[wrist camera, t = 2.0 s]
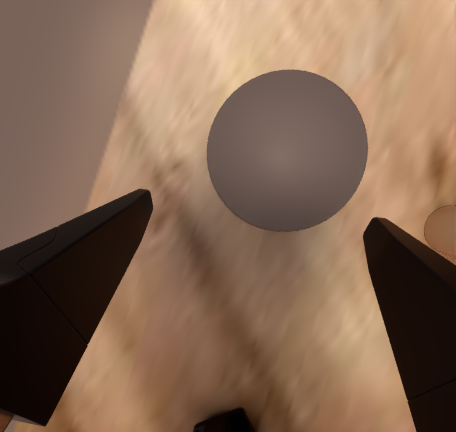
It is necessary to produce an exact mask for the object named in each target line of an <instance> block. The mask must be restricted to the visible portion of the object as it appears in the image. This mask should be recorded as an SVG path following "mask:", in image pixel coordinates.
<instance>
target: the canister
mask: <svg viewBox="0 0 456 432" xmlns="http://www.w3.org/2000/svg"><path fill="white" fill-rule="evenodd" d="M424 234H425V238H426V240H427V242H428V244H429V245H430V246H431V247H432V248H434V249H435V250H437V251H440V252H444V253H447V254H451V255H454V256H456V206H445V207H442V208H439V209H437V210H436V211H434V212H433V213H432V214H431V215H430V216H429V218H428V219H427V221H426V223H425V227H424Z"/></svg>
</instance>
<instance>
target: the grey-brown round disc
mask: <svg viewBox="0 0 456 432" xmlns="http://www.w3.org/2000/svg"><path fill="white" fill-rule="evenodd" d="M367 153H368V142H367V134H366V129H365V125H364V122H363V119H362V117H361V114H360V113H359V111H358V109H357V107H356V105H355V104H354V102H353V101H352V100H351V98H350V97H349V96H348V95H347V94H346V93H345V92H344V91H343V90H342V89H341V88H340V87H338V86H337V85H336V84H335V83H333V82H331V81H330V80H328V79H326V78H325V77H322V76H320V75H317V74H315V73H311V72H307V71H301V70H279V71H273V72H269V73H266V74H263V75H260V76H258V77H256V78H253V79H251V80H250V81H248V82H246V83H245V84H243V85H242V86H241V87H239V88H238V89H237V90H236V91H234V92H233V93H232V94H231V96H230V97H229V98H228V99H227V100H226V101H225V102H224V104H223V105H222V107H221V108H220V110H219V111H218V113H217V115H216V117H215V119H214V121H213V124H212V126H211V129H210V133H209V137H208V144H207V163H208V170H209V173H210V177H211V180H212V183H213V185H214V188H215V190H216V191H217V193H218V195H219V197H220V198H221V199H222V201H223V202H224V203H225V205H226V206H227V207H228V208H229V209H230V210H231V211H232V212H233V213H235V214H236V215H237V216H238V217H240V218H241V219H243V220H245V221H246V222H248V223H250V224H252V225H254V226H257V227H260V228H263V229H267V230H272V231H287V232H288V231H298V230H302V229H306V228H310V227H312V226H315V225H318V224H320V223H322V222H323V221H325V220H327V219H329V218H330V217H332V216H333V215H334V214H336V213H337V212H338V211H339V210H340V209H341V208H342V207H344V205H345V204H346V203H347V202H348V201H349V200H350V198H351V197H352V196H353V194H354V193H355V191H356V190H357V188H358V186H359V184H360V181H361V179H362V177H363V174H364V171H365V167H366V162H367Z"/></svg>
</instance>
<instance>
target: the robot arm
mask: <svg viewBox="0 0 456 432" xmlns="http://www.w3.org/2000/svg"><path fill="white" fill-rule="evenodd" d="M152 211H153V203H152V198H151V193H150V191H149V190H146V189H138V190H135V191H133V192H131V193H129V194H127V195H124V196H122V197H120V198H118V199H116V200H114V201H111V202H109V203H107V204H105V205H103V206H100V207H98V208H96V209H94V210H92V211H90V212H87V213H85V214H83V215H81V216H79V217H76V218H74V219H72V220H70V221H68V222H66V223H63V224H61V225H59V226H58V227H54V228H52V229H50V230H48V231H46V232H44V233H41V234H39V235H37V236H34V237H32V238H30V239H27V240H25V241H23V242H20V243H18V244H15V245H13V246H10V247H8V248H5V249H3V250H0V432H4V430H5V429H6V428H7V426H8V424H9V423H10V421H11V420H15V421H20V422H25V423H30V424H35V425H39V426H46V425H47V423H48V421H49V420H50V418H51V416H52V414H53V412H54V410H55V408H56V406H57V404H58V402H59V400H60V398H61V396H62V395H63V393H64V391H65V389H66V387H67V385H68V383H69V381H70V379H71V377H72V375H73V373H74V371H75V369H76V367H77V365H78V363H79V362H80V360H81V358H82V356H83V354H84V352H85V350H86V348H87V346H88V345H87V344H89V342H90V340H91V338H92V336H93V334H94V332H95V330H96V328H97V326H98V324H99V322H100V320H101V318H102V317H103V315H104V313H105V311H106V309H107V307H108V305H109V303H110V301H111V299H112V297H113V295H114V293H115V291H116V289H117V287H118V285H119V284H120V282H121V280H122V278H123V276H124V274H125V272H126V270H127V268H128V266H129V264H130V262H131V260H132V258H133V256H134V254H135V252H136V251H137V249H138V247H139V245H140V243H141V240H142V238H143V236H144V233H145V230H146V227H147V225H148V222H149V219H150V217H151V214H152ZM363 240H364V246H365V252H366V258H367V264H368V269H369V273H370V277H371V281H372V284H373V287H374V291H375V294H376V297H377V301H378V304H379V307H380V311H381V314H382V317H383V321H384V324H385V327H386V331H387V334H388V337H389V341H390V344H391V347H392V351H393V354H394V357H395V361H396V364H397V367H398V371H399V374H400V377H401V381H402V384H403V387H404V391H405V394H406V397H407V400H408V405H409V408H410V411H411V415H412V418H413V421H414V425H415V428H416V431H417V432H456V265H454V264H453V263H452V262H450V261H449V260H447V259H446V258H444V257H443V256H441V255H440V254H438V253H437V252H435V251H434V250H432V249H431V248H429V247H428V246H426V245H425V244H423V243H422V242H420V241H419V240H417V239H416V238H414V237H413V236H411V235H410V234H408V233H407V232H405V231H404V230H402V229H401V228H399V227H398V226H396V225H395V224H393V223H392V222H391V221H389V220H388V219H386V218H379V217H374V218H373V219H372V220H371V221H370V223H369V225H368V226H367V228H366V230H365V231H364V234H363ZM240 414H242V415H240ZM193 432H255V431H254V429H253V427H252V425H251V423H250V421H249V419H248V417H247V415H246V413H245V411H244V410H243V409H237V410H234V411H232V412H229V413H226V414H224V415H221V416H218V417H216V418H213V419H211V420H208V421H205V422H203V423H200V424H197V425H195V427H194V430H193Z"/></svg>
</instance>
